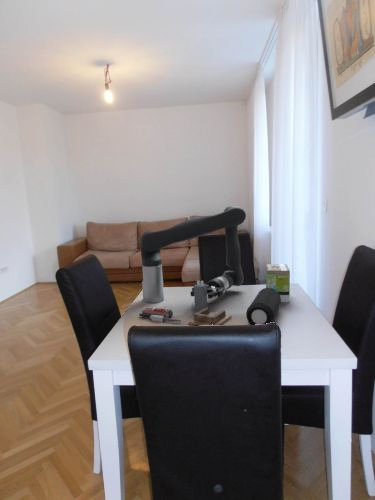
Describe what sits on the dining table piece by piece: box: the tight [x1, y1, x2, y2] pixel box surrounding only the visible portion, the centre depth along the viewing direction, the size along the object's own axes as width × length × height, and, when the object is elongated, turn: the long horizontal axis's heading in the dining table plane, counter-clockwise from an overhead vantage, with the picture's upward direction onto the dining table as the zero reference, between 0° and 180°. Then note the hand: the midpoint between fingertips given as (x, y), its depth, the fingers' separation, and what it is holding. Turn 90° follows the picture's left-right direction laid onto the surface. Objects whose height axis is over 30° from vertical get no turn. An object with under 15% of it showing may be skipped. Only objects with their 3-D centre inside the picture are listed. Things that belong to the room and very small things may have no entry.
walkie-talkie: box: [138, 306, 182, 323], centre depth 144 cm, size 9×4×20 cm
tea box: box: [265, 263, 291, 303], centre depth 163 cm, size 15×10×15 cm, turn 170°
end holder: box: [187, 307, 232, 326], centre depth 138 cm, size 12×13×4 cm
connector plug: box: [193, 280, 209, 312], centre depth 151 cm, size 4×4×13 cm
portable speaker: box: [246, 287, 282, 326], centre depth 137 cm, size 26×10×10 cm, turn 158°
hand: (199, 295), depth 151 cm, fingers open, 8 cm apart
